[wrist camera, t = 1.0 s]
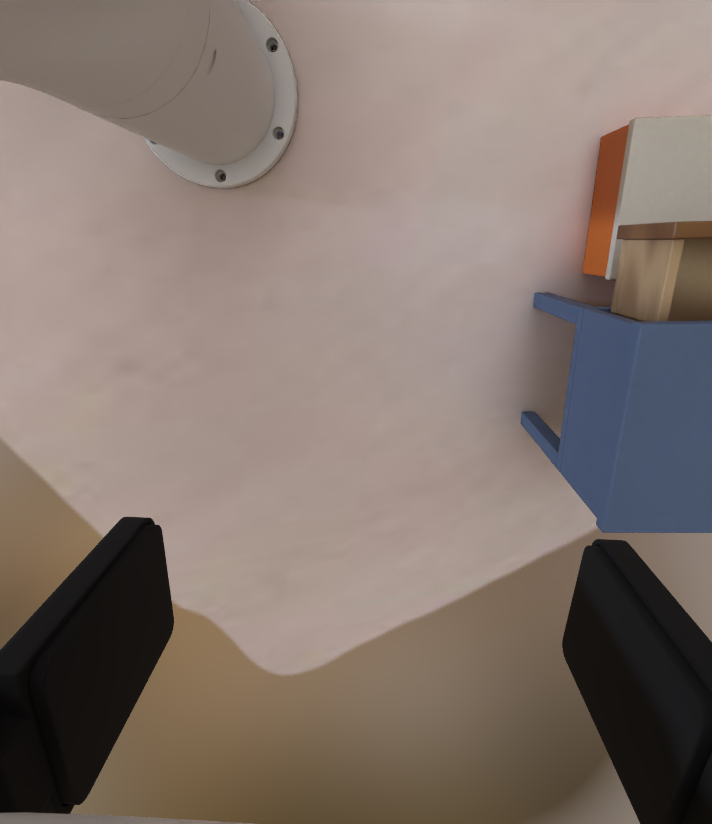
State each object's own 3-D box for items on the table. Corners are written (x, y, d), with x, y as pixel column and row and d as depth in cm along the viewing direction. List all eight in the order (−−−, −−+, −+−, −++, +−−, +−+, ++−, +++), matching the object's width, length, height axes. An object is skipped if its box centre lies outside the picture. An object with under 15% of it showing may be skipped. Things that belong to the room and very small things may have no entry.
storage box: (599, 134, 35) (634, 117, 30) (705, 130, 35) (757, 113, 30) (579, 275, 39) (608, 280, 34) (675, 273, 38) (718, 277, 34)
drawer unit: (532, 290, 39) (641, 324, 23) (719, 286, 39) (964, 318, 23) (518, 425, 44) (601, 533, 28) (686, 424, 43) (872, 533, 27)
